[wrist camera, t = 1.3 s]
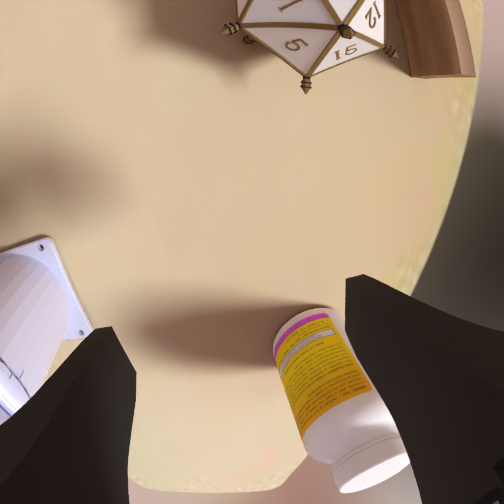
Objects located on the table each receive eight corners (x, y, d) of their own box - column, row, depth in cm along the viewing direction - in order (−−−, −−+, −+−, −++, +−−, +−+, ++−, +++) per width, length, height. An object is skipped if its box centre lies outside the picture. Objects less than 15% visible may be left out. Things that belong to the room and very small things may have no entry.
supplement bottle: (256, 359, 23) (296, 506, 12) (296, 293, 21) (378, 448, 10) (321, 371, 25) (377, 491, 14) (363, 315, 23) (449, 435, 12)
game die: (244, 35, 17) (156, -52, 7) (352, -11, 13) (315, -120, 4) (297, 137, 16) (204, 50, 7) (427, 85, 13) (455, -38, 4)
